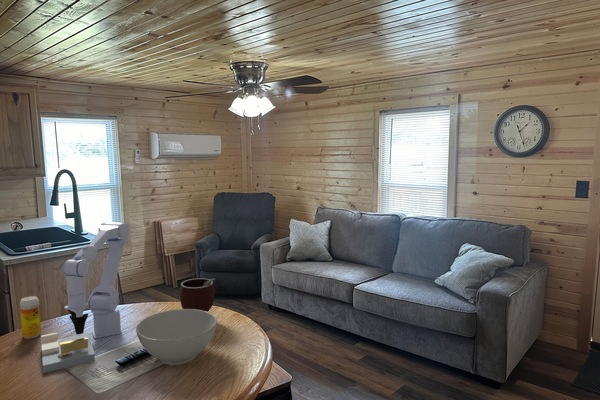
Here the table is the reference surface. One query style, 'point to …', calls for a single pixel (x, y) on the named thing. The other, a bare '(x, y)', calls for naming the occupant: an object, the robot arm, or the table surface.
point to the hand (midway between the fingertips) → (78, 329)
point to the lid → (49, 343)
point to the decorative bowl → (176, 334)
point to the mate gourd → (197, 294)
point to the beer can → (30, 317)
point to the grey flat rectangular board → (68, 356)
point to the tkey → (73, 345)
